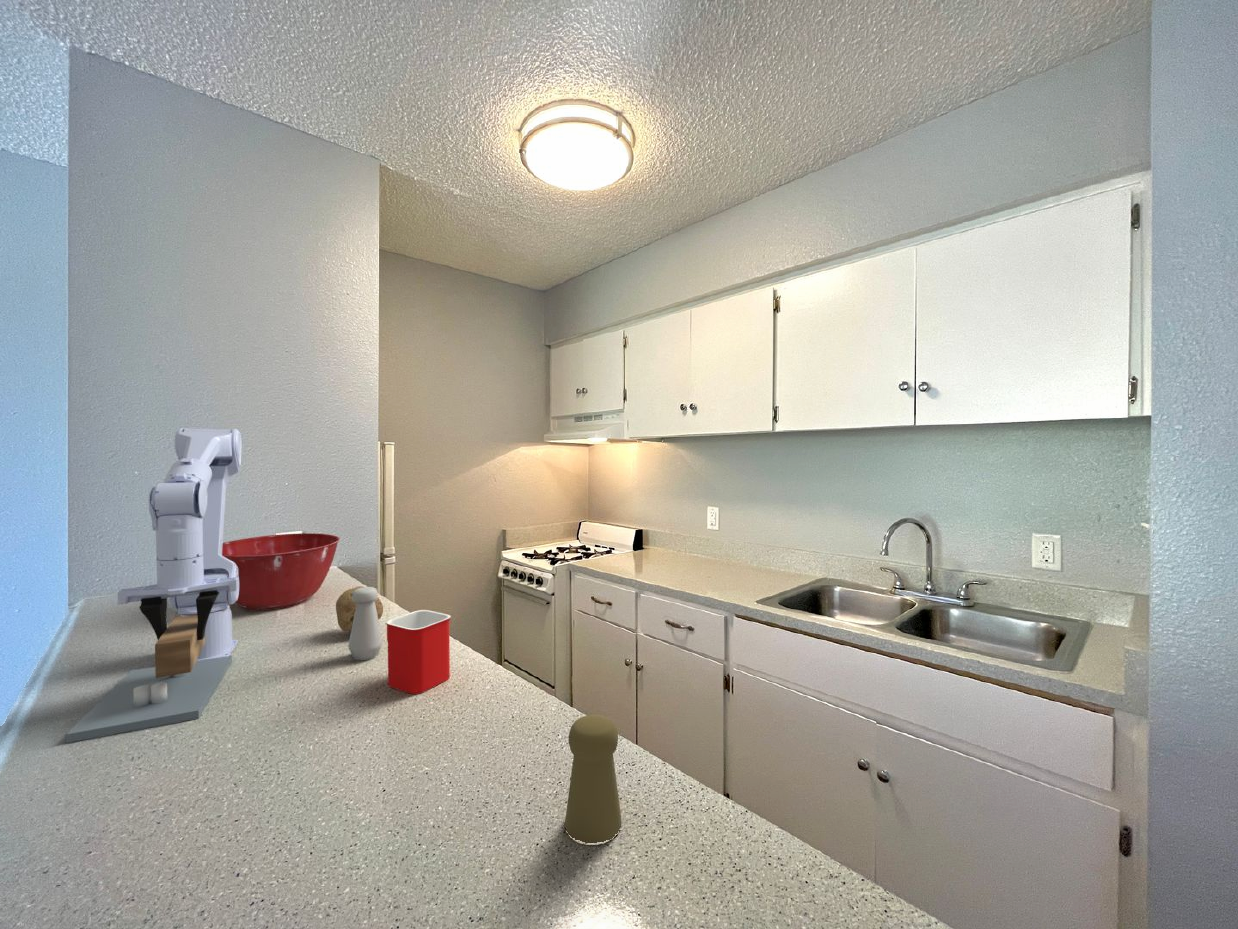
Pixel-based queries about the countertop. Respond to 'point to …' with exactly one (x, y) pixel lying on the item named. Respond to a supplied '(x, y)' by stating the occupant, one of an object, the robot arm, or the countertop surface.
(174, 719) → the peg rack
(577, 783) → the olive pawn
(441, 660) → the red rectangular container
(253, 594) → the mixing bowl
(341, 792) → the countertop surface
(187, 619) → the wooden block
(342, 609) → the natural sponge
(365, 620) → the salt shaker
